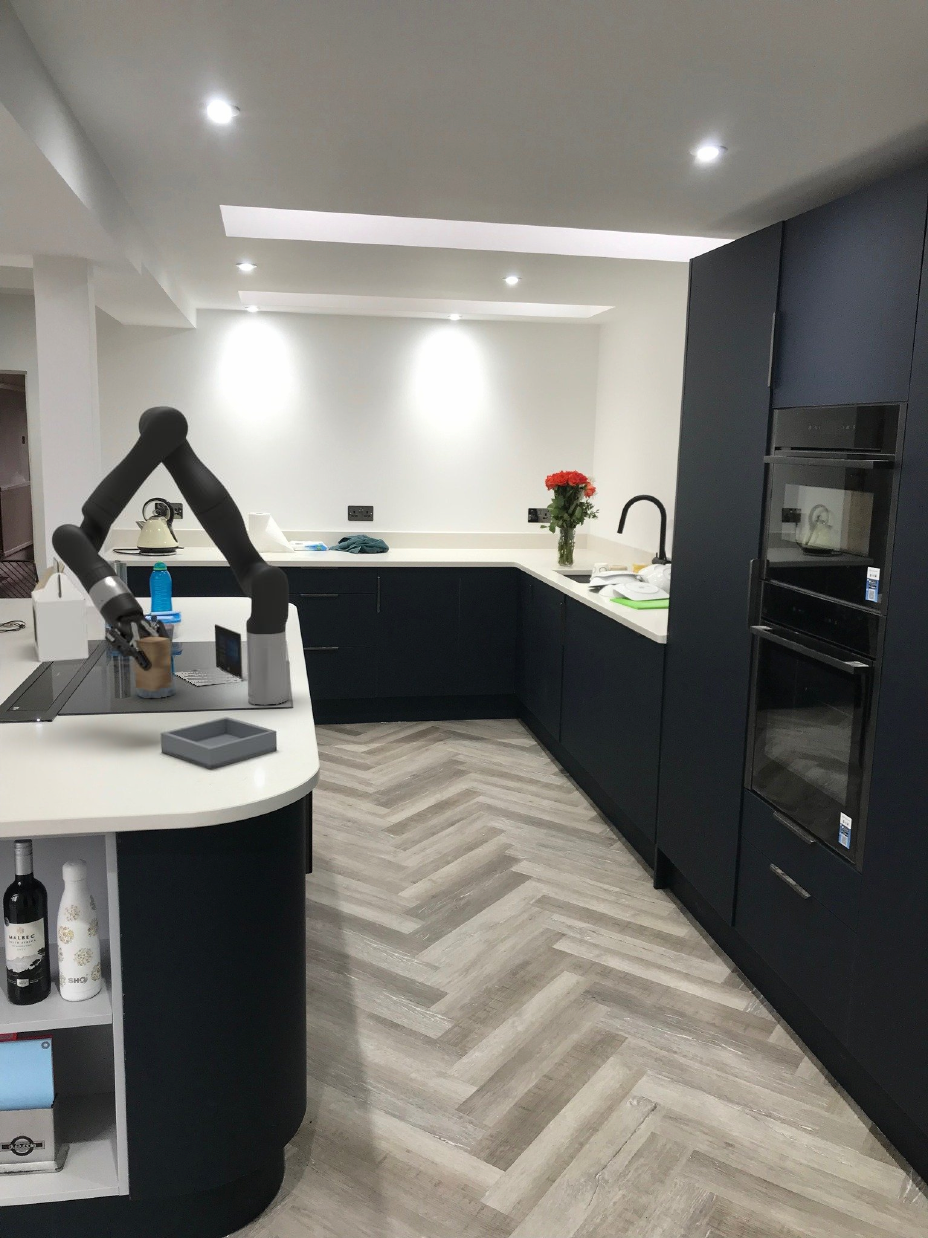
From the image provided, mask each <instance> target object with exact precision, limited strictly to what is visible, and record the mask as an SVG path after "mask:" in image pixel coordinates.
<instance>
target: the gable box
mask: <svg viewBox="0 0 928 1238" xmlns="http://www.w3.org/2000/svg"><path fill="white" fill-rule="evenodd" d="M62 562H63V561H61V560H59V561H58V559H57V558H56V557H52V566H50V567H48V568H46V570H45V572H44V573H43V574H42V576H41V578H40V579H39V580H38V582H37V584H36V585H35V587H34V589H33V590H32V591H31V593H30V594H31V607H32V621H33V622H32V623H33V637H34V639H33V640H34V650H35V652H36V655H37V659H38V662H39V663H46V662H48V663H49V662H58V661H59V662H60V661H72V660H84V659H85V660H86V659H89V640H88V639H89V637H88V624H87V623H88V622H87V619H88V618H87V604H86V602H87V601H86V598H85V597H84V595H83V594H82V593H81V592H80V590H79V589H77V587H76V586H75V584H74V583H73V582H72V580H71V579H70V578H69V576H68V575H67V574H66V573H65V571H64V569H65V564H64V563H62Z"/></svg>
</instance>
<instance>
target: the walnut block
mask: <svg viewBox="0 0 928 1238" xmlns="http://www.w3.org/2000/svg"><path fill="white" fill-rule="evenodd" d="M137 642H138V644H139V645H140V647H141V651H143V652H144V653H145V655H146V656H147V658H148V659H149V660H150V662H151V663H152V667H151V668H150V669H149V670H148V671H144V670H143V669H142V668H141V667H140V666H139V665H138V663H137V662H136V660H135V659H134V658H133V659H134V677H135V688H136V689H138V688H140V689H145V690H151V691H155V690H159V689H162V688H166V687H170V686H172V677H171V669H172V663H171V655H172V654H171V655H170V639H169V638H162V637H146V638H141V639H140V640H139V641H137Z"/></svg>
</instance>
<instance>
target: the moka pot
mask: <svg viewBox="0 0 928 1238" xmlns="http://www.w3.org/2000/svg"><path fill="white" fill-rule="evenodd" d="M150 619H151V620H149V621H150V622H157V621H158V616H157V615H151V616H150ZM163 624H164V626H165V629H166V631H167V633H168V635H169V638H170V640H171V641H170V654H171V655H172V651H173V640H174V628H175V625H174V624H172V623H167V622H163ZM150 637H151V635H150ZM173 675H174V674H173V670H172V668H171V677H172V686H170V687H166V688H162V689H159V690H155V691H151V690H145V689H140V688H137V692H136V693H137V696H138V697H140V698H144V699H149V698H157V699H162V698H161V697H165V698H168V697H167V696H169V697H171V696H173V695H174V694H175V693H176V688H175V687H176V686H175V682H174V676H173Z"/></svg>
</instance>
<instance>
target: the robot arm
mask: <svg viewBox="0 0 928 1238" xmlns="http://www.w3.org/2000/svg"><path fill="white" fill-rule="evenodd" d="M138 431H139V437H138V439H137V440H136V443H135V444H134V446H133V447H132V448H131V449H130V451H129V452H128V453H127V455H125V457H124V458H123V459H122V460H121V461H120V462H119V463H118V464H117V465H116V466H115V467H114V468H113V469H112V470H111V471H110V472H109V473H108V474H107V475H106V476H105V477H104V478H103V479H102V480H101V481H100V482H99V484H98V485H97V486H96V487H95V489H94V490H93V492H91V494H90V495H89V497H88V498H87V499H86V501H84V504H83V505H82V507H81V515H82V516H83V519H82V522H81V523H80V525H79V526H78V525H76V524H72V523H66V524H65V523H64V524H62V525H59V526H58V527H56V529H55V530H54V531H53V532H52V533H53V534H52V536H51V544H52V548H53V549H54V552H55V554H57V556H58V558H60V559H61V560H62V561H61V562H63V564H64V565H66V567H68V568H69V570H71V572H72V573H73V574H74V575H75V576H76V578H77V579H78V581H79V582H80V584H81V586H82V587H83V589H84V590H85V591H86V593H87V595H89V597H90V599H91V601H92V603H93V605H94V607H95V608H96V610H97V611H98V612H99V614H100V616H102V618H103V620H104V621H105V623H106V624H107V625H108V627H109V630H108V632H107V633H106V634H105V636H104V639H105V640H106V641H107V642H108V643H109V644H110V645H111V646H112V647H113V649H115V650H116V651H117V652H118V654H120V655H121V656H122V657H123V658H127V657H130V658H132V659H135V660H136V662H137V663H138V665H139V666H140V667H141V668H142V669H143V670H144V671H148V670H149V669H150V668H151V667H152V663H151V662H150V660H149V659H148V658H147V656H146V655H145V653H144V652H143V651H141V647H140V645H139V644H138V642H137V641H139V640H140V639H141V638H146V637H150V635H151V637H162V638H169V635H168V633H167V631H166V629H165V626H164V624H163V623H164V622H163V620H161V619H157V621H156V622H152V621H151V620H149V619H148V618H146V616H145V614H144V609H143V606H141V604H140V603H139V601H138V600H137V599H136V597H135V596H134V594H133V593H132V591H131V590H130V589H129V587H128V586H127V584H126V583H124V581H123V580H122V579H121V577H119V575H118V574H117V572H116V571H115V570H114V568H113V566H111V564H110V563H109V562H108V561H107V560H106V559H105V558H103V556H101V555H100V553H99V552H100V551H101V549H102V548H103V546H104V544H105V541H106V539H107V537H108V535H109V532H110V530H111V527H112V525H113V524H114V522H115V521H116V520H117V519H118V517H119V516H120V515H121V513H122V512H123V511H124V510H125V509H126V507H127V505H128V504H129V503H130V501H131V500H132V499H133V497H134V496H135V495H136V493H137V492H138V490H139V489H140V488H141V487H142V485H143V484H144V482H145V481H147V479H148V477H150V475H151V474H152V473H153V472H154V471H155V470H156V469H157V468H158V467H159V465H161V463H162V465H163V466H164V467H165V469H166V470H167V471H168V473H169V474H170V476H171V478H172V479H173V481H174V483H175V484H176V486H177V488H178V490H179V492H180V494H181V495H182V497H183V498H184V500H185V502H186V504H187V506H188V507H189V509H190V510H191V512H192V514H193V515H194V517H195V518H196V519H197V522H199V524H200V526H201V527H202V528H203V530H204V531H205V532H206V535H208V537H209V539H210V540H211V541H212V543H213V544H214V545H215V546H216V548H217V549H218V550H219V551H220V553H221V554H222V556H223V557H224V559H225V560H226V561H227V563H228V565H229V567H230V569H231V572H233V575H234V577H235V578H236V581H237V583H238V584H239V586H240V588H241V590H242V592H243V593H244V595H246V597H248V598H249V599H250V603H251V604H250V607H251V608H250V616H249V618H248V619H247V620H246V621H245V627H246V628H245V629H246V630H245V631H246V659H247V660H246V665H247V666H246V668H247V701H248V703H249V702H250V703H249V704H251V703H252V704H251V705H255V704H261V705H260V706H263V705H262V704H276V705H280V704H279V703H281V704H283V703H282V702H284V703H286V702H287V701H289V700H291V665H290V660H287V634H286V633H287V631H286V630H287V628H286V626H287V622H288V618H289V611H290V610H289V604H290V603H289V602H290V588H289V587H290V586H289V580H288V577H287V574H286V573H285V572H284V571H283V569H281V568H279V567H278V566H275V565H271V564H269V563H267V562H266V560H265V559H264V558H263V557H262V556H261V554H260V553H259V551H258V550H257V549H256V548H255V546H254V544H253V541H251V539H250V536H249V534H248V530H247V527H246V523H245V521H244V518H243V515H242V513H241V511H240V509H239V507H238V505H237V504H236V502H235V501H234V498H233V497H232V496H231V494H230V493H229V491H228V489H227V488H226V487H225V486H224V484H223V483H222V482H221V480H219V478H218V477H217V476H216V475H215V474H214V473H213V472H212V471H211V469H209V468H208V467H207V466H206V465H205V464H204V462H202V461H201V459H200V458H199V457H198V456H197V454H196V452H195V451H194V449H193V447H192V446H191V444H190V442H189V440H188V439H187V436H188V432H189V424H188V421H187V418H186V417H185V414H183V412H182V411H180V410H179V409H177V408H175V407H172V406H163V405H162V406H154V407H149V408H148V409H146V410H144V412H143V413H142V414H141V415H140V418H139V421H138ZM150 621H151V622H150ZM169 639H170V638H169ZM170 641H171V640H170ZM170 655H171V664H172V663H173V661H174V656H173V655H172V653H171V654H170ZM135 660H134V661H135ZM285 701H286V702H285Z"/></svg>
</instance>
